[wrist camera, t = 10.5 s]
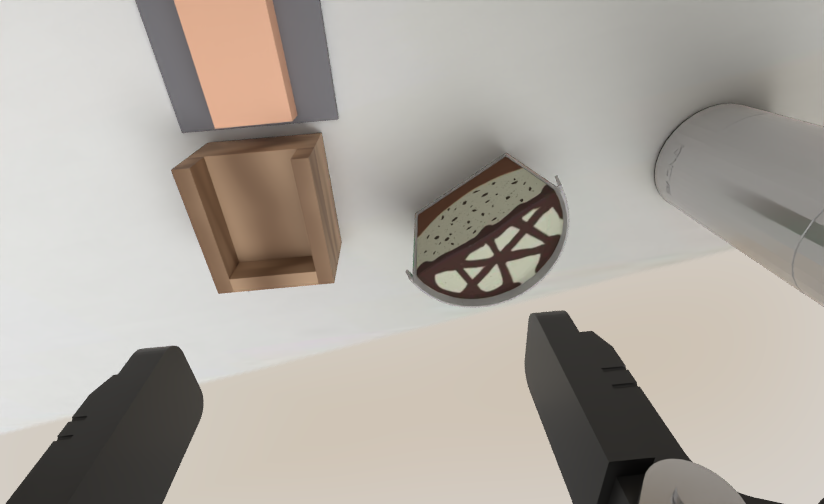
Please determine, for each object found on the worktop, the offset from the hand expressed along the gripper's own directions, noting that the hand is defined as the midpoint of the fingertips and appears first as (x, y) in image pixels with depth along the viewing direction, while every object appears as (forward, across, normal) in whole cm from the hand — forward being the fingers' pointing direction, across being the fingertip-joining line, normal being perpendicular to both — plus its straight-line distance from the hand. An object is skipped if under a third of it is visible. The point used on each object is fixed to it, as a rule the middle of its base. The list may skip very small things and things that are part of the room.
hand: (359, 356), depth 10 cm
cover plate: (+26, +9, -6) cm, 28 cm away
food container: (+26, -8, +9) cm, 29 cm away
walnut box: (+26, +9, +6) cm, 28 cm away
